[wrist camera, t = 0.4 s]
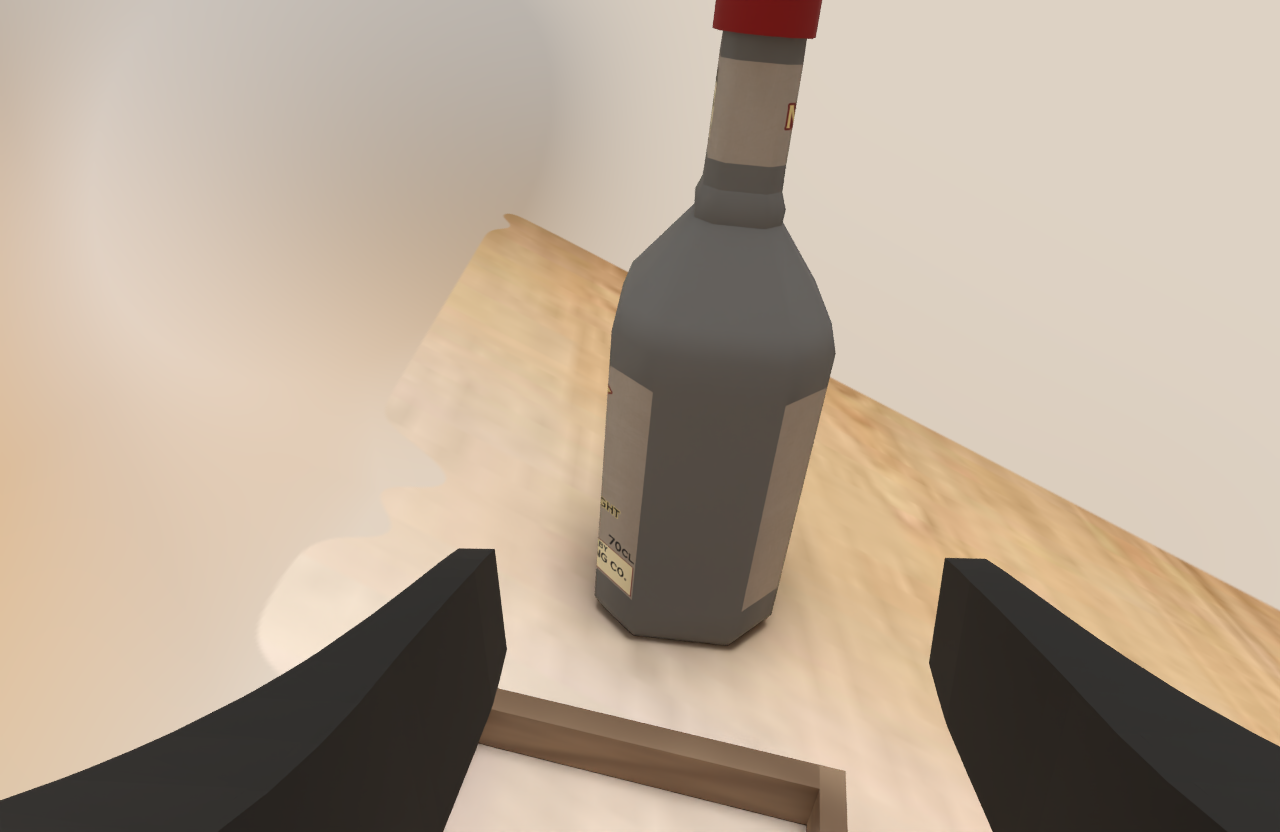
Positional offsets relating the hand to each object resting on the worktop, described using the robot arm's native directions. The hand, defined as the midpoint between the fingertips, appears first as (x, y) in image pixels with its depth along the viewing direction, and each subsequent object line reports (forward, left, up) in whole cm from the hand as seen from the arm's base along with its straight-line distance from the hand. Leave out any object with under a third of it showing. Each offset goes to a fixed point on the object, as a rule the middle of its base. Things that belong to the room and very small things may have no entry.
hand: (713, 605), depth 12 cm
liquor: (+21, +2, -20) cm, 29 cm away
